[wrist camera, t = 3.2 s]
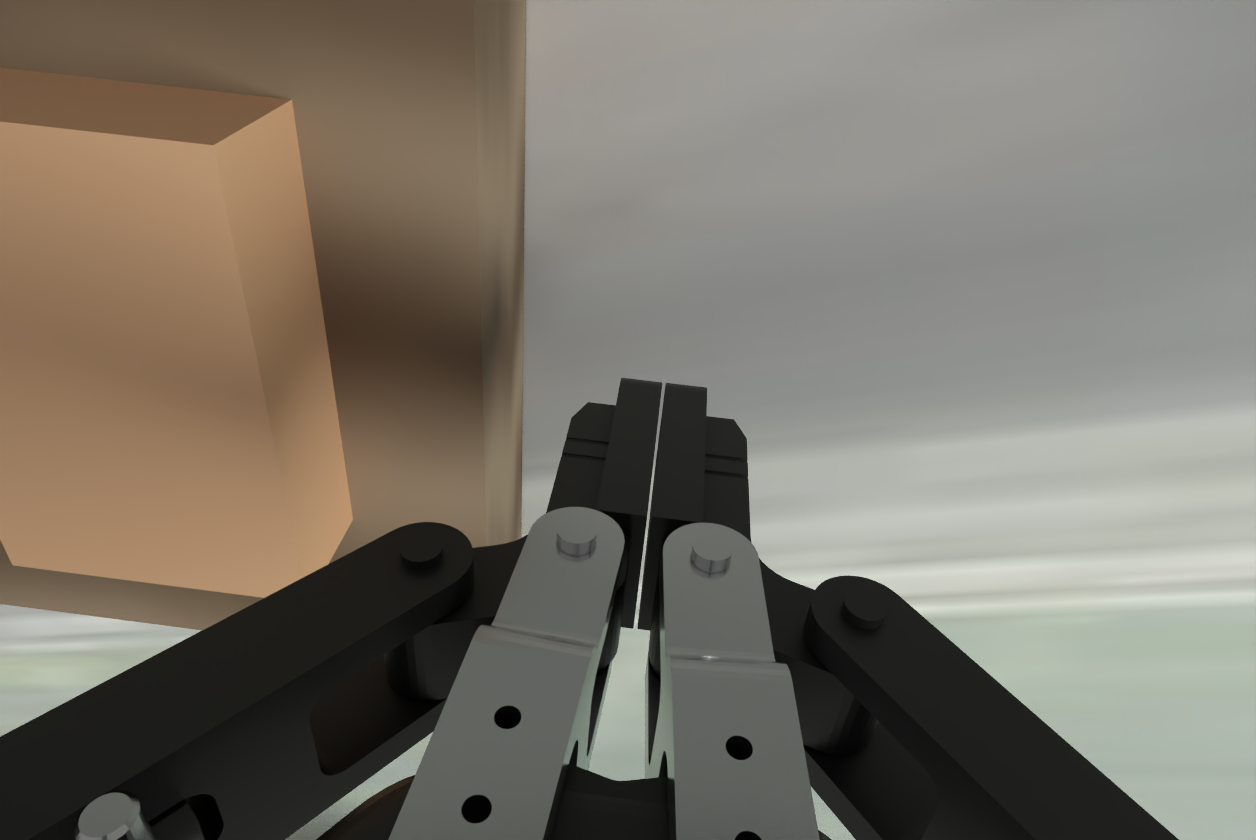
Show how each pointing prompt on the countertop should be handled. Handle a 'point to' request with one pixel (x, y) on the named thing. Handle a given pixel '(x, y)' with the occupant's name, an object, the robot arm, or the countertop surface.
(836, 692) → the robot arm
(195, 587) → the tan rectangular block
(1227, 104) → the countertop surface
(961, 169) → the countertop surface
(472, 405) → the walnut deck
